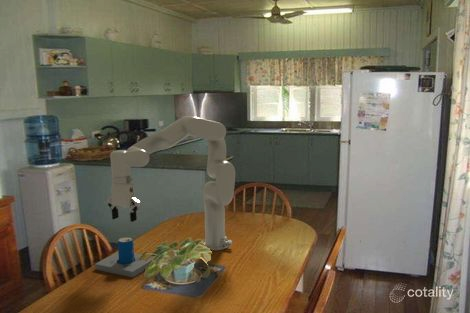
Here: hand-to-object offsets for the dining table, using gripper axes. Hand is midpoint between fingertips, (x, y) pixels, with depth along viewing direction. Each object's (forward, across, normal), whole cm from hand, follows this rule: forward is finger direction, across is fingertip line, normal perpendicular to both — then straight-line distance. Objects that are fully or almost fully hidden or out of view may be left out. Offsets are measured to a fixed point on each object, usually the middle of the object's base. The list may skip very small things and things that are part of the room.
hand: (124, 219), depth 178 cm
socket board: (+21, 0, 0) cm, 21 cm away
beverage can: (+21, 0, 0) cm, 21 cm away
